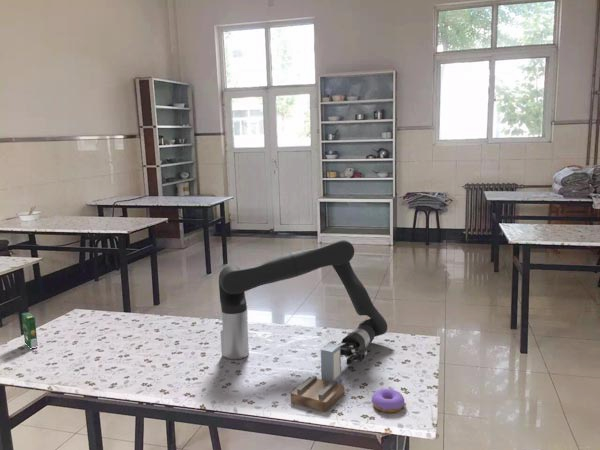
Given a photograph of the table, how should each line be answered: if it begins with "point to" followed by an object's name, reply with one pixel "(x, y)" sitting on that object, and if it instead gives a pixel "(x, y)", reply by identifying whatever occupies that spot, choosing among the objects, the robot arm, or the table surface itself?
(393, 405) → the donut
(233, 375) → the table surface
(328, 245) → the robot arm
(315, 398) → the display stand
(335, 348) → the light blue rectangular block
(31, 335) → the coffee box
